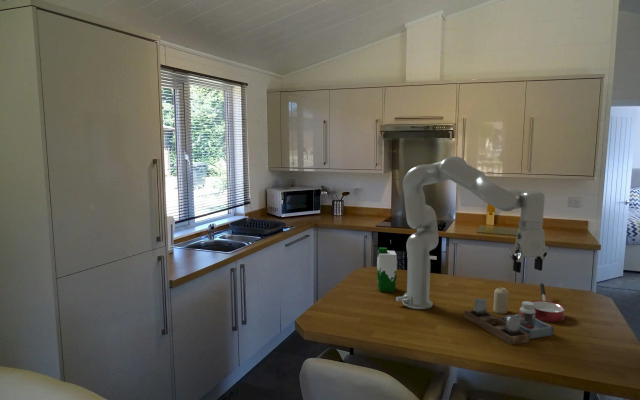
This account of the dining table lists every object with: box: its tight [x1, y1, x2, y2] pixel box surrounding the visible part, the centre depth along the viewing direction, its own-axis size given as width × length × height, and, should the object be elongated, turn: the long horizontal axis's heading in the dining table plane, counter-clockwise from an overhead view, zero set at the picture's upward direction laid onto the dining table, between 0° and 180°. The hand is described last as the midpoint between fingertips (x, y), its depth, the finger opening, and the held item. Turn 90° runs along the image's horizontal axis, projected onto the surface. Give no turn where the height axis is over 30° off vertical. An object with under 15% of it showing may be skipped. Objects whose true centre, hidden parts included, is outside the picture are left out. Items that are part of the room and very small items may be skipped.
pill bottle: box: [518, 300, 535, 329], centre depth 168 cm, size 5×5×10 cm
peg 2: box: [506, 314, 520, 337], centre depth 160 cm, size 4×4×8 cm
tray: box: [501, 313, 555, 340], centre depth 169 cm, size 11×14×3 cm
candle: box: [492, 286, 510, 315], centre depth 186 cm, size 6×6×10 cm
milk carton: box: [376, 246, 398, 293], centre depth 212 cm, size 9×9×20 cm
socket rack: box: [464, 309, 531, 346], centre depth 169 cm, size 8×26×2 cm, turn 18°
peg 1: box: [473, 297, 488, 317], centre depth 177 cm, size 4×4×8 cm
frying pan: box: [530, 282, 566, 323], centre depth 190 cm, size 32×13×6 cm, turn 163°
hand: (527, 270), depth 167 cm, fingers open, 9 cm apart
